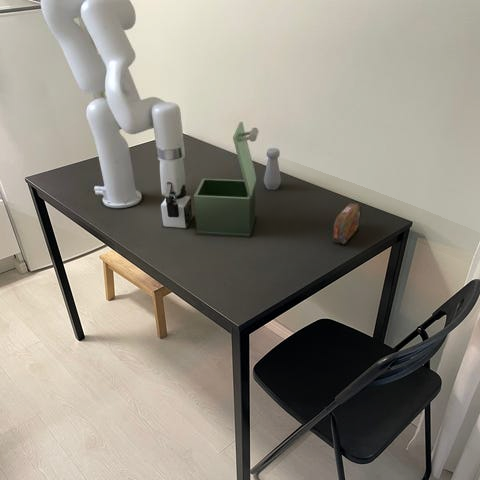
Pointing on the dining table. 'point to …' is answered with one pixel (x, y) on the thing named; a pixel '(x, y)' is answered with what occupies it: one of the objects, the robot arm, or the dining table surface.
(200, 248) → the dining table surface
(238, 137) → the bin lid
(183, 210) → the medicine bottle
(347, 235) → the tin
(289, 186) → the dining table surface
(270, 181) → the salt shaker
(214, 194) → the bin
